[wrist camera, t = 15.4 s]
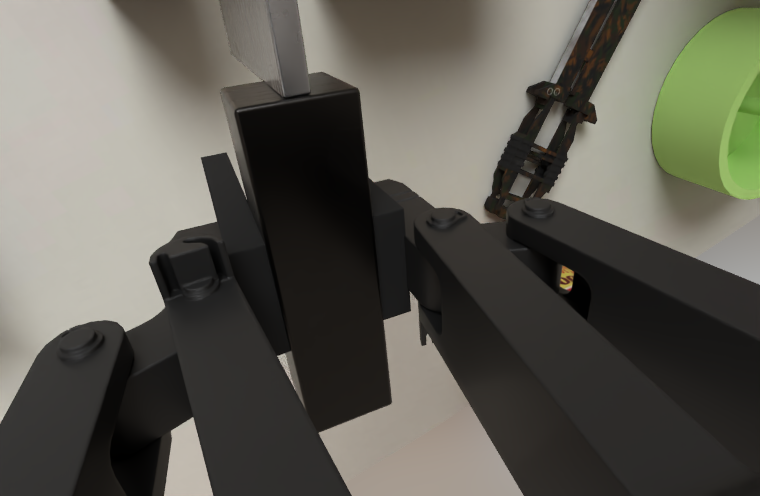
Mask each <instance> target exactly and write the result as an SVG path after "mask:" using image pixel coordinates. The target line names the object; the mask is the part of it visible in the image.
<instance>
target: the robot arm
mask: <svg viewBox="0 0 760 496" xmlns="http://www.w3.org/2000/svg"><path fill="white" fill-rule="evenodd" d="M201 160H202V164H203V168H204V171H205V175H206V179H207V183H208V187H209V191H210V195H211V198H212V202H213V206H214V210H215V214H216V218H217V222H214V223H210V224H206V225H202V226H198V227H194V228H190V229H185V230H181V231H178V232H177V233H176V234H175V236H174V237H173V238H172V240H171V241H170V242H169V243H167V244H165V245H164V246H162V247H160V248H159V249H157V250H156V251H155V252H154V253H153V254H152V255H151V257H150V261H149V265H150V267H151V270H152V272H153V275H154V277H155V280H156V282H157V285H158V287H159V290H160V292H161V295H162V298H163V300H164V303H165V308H164V309H163V310H162V311H161V312H160V313H159V314H158V315H156V316H155V317H154V318H152V319H151V320H149V321H147V322H145V323H143V324H142V325H140V326H137V327H135V328H133V329H131V330H129V331H127V332H125V331H124V329H123V327H122V326H120V325H119V324H118V323H117V322H112V321H107V320H104V321H95V322H89V323H86V324H83V325H78V326H75V327H73V328H70V330H66V331H65V332H63V333H61V334H60V335H58V336H57V337H56V338H54V339H53V340H52V341H50V342H49V343H48V344H46V345H45V347H44V348H43V349H42V350H41V351H40V353H39V354H38V355H37V357H36V359H35V361H34V362H33V364H32V366H31V368H30V370H29V372H28V374H27V375H26V377H25V379H24V381H23V383H22V385H21V387H20V388H19V390H18V392H17V394H16V396H15V398H14V400H13V401H12V403H11V405H10V407H9V409H8V411H7V413H6V414H5V416H4V418H3V420H2V422H1V424H0V496H164V491H165V484H166V477H167V470H168V463H169V455H170V448H171V441H172V437H171V430H173V429H174V428H176V427H178V426H179V425H181V424H182V423H184V422H186V421H187V420H189V419H190V418H192V417H194V421H195V425H196V429H197V433H198V437H199V441H200V445H201V449H202V453H203V457H204V460H205V464H206V468H207V472H208V476H209V480H210V484H211V488H212V492H213V496H352V495H351V494H350V492H349V490H348V488H347V486H346V484H345V482H344V481H343V479H342V477H341V475H340V473H339V471H338V469H337V467H336V466H335V464H334V462H333V460H332V458H331V456H330V454H329V453H328V451H327V449H326V447H325V445H324V443H323V441H322V439H321V438H320V436H319V434H318V432H317V430H316V428H315V426H314V424H313V423H312V421H311V419H310V417H309V415H308V413H307V411H306V410H305V408H304V406H303V404H302V402H301V400H300V398H299V396H298V395H297V393H296V391H295V389H294V387H293V385H292V383H291V382H290V380H289V378H288V376H287V374H286V372H285V370H284V368H283V367H282V365H281V363H280V361H279V359H278V357H277V356H278V355H281V354H284V353H287V352H290V351H291V350H290V346H289V342H288V337H287V333H286V329H285V325H284V321H283V317H282V313H281V308H280V304H279V300H278V296H277V292H276V288H275V284H274V279H273V275H272V271H271V267H270V263H269V259H268V255H267V251H266V246H265V243H264V241H263V239H262V236H261V234H260V232H259V229H258V227H257V225H256V222H255V220H254V218H253V215H252V213H251V211H250V208H249V205H248V201H247V199H246V197H245V194H244V192H243V190H242V188H241V185H240V183H239V181H238V178H237V176H236V174H235V171H234V169H233V167H232V164H231V162H230V160H229V157H228V155H227V153H221V154H216V155H211V156H206V157H201ZM369 187H370V197H371V206H372V216H373V225H374V235H375V245H376V254H377V264H378V273H379V283H380V292H381V302H382V312H383V320H385V319H388V318H391V317H394V316H397V315H400V314H403V313H406V312H409V311H411V306H410V292H411V293H412V294H413V295H414V297H415V298H416V299H417V300H418V309H419V326H420V340H421V345H422V346H424V345H426V335H427V334H429V336H430V338H431V339H432V343H434V345H435V346H436V348H437V350H438V351H439V353H440V355H441V356H442V358H443V360H444V361H445V363H446V365H447V367H448V368H449V370H450V372H451V373H452V375H453V377H454V378H455V380H456V382H457V383H458V385H459V387H460V389H461V390H462V392H463V394H464V395H465V397H466V399H467V400H468V402H469V404H470V405H471V407H472V409H473V410H474V412H475V414H476V416H477V417H478V419H479V421H480V422H481V424H482V426H483V427H484V429H485V431H486V432H487V434H488V436H489V438H490V439H491V441H492V443H493V444H494V446H495V447H496V449H497V451H498V453H499V454H500V456H501V458H502V459H503V461H504V463H505V465H506V466H507V468H508V470H509V471H510V473H511V475H512V476H513V478H514V480H515V481H516V483H517V485H518V487H519V488H520V490H521V492H522V493H523V495H524V496H760V285H759V284H756V283H754V282H751V281H749V280H747V279H744V278H742V277H739V276H737V275H734V274H732V273H730V272H727V271H725V270H722V269H720V268H717V267H715V266H712V265H710V264H707V263H705V262H703V261H700V260H698V259H695V258H693V257H691V256H688V255H686V254H683V253H681V252H678V251H676V250H673V249H671V248H669V247H666V246H664V245H661V244H659V243H656V242H654V241H651V240H649V239H647V238H644V237H642V236H639V235H637V234H634V233H632V232H630V231H627V230H625V229H622V228H620V227H617V226H615V225H612V224H610V223H608V222H605V221H603V220H600V219H598V218H595V217H593V216H591V215H588V214H586V213H583V212H581V211H578V210H576V209H573V208H571V207H569V206H566V205H564V204H561V203H559V202H555V201H552V200H549V199H541V198H539V197H532V198H525V199H523V200H518V201H515V202H513V203H512V204H510V205H509V206H508V208H507V212H506V221H505V222H495V223H485V224H480V223H479V222H478V221H477V220H476V219H475V218H473V217H472V216H471V215H470V214H468V213H467V212H465V211H463V210H460V209H455V208H434V207H433V206H432V205H430V204H429V203H428V202H427V201H425V200H424V199H423V198H421V197H419V195H417V194H416V193H415V192H412V190H411V189H410V188H408V187H407V186H406V185H404V184H403V183H400V182H397V181H393V180H390V179H387V180H383V181H379V182H375V183H374V182H373V181H372V180H371V179H369ZM562 266H565V267H566V268H568V269H570V270H572V271H574V276H573V283H572V288H571V291H569V290H566V289H564V288H562V287H560V281H561V273H562Z"/></svg>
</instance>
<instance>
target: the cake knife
mask: <svg viewBox="0 0 760 496" xmlns="http://www.w3.org/2000/svg"><path fill="white" fill-rule="evenodd" d="M219 4H220V8H221V13H222V17H223V21H224V26H225V30H226V34H227V39H228V43H229V48H230V52H231V55H232V56H233V57H235V58H236V59H237V60H238V61H239V62H241V63H242V64H243V65H244V66H246V67H247V68H248V69H249V70H250V71H252V72H253V73H254V74H255V75H256V76H258V77H259V78H260V79H261V80H263V81H262V82H256V83H249V84H243V85H237V86H231V87H224V88H222V89H221V92H220V93H221V97H222V101H223V105H224V109H225V113H226V117H227V121H228V125H229V129H230V133H231V137H232V141H233V145H234V149H235V153H236V157H237V161H238V165H239V169H240V173H241V177H242V181H243V185H244V189H245V193H246V197H247V201H248V205H249V208H250V211H251V213H252V215H253V218H254V220H255V222H256V225H257V227H258V229H259V232H260V234H261V236H262V239H263V241H264V243H265V246H266V251H267V255H268V259H269V263H270V267H271V271H272V275H273V279H274V284H275V288H276V292H277V296H278V300H279V304H280V308H281V313H282V317H283V321H284V325H285V329H286V333H287V337H288V342H289V346H290V350H291V351H290V352H287V353H286V357H287V361H288V365H289V369H290V373H291V377H292V380H293V383H294V386H295V389H296V392H297V395H298V396H299V398H300V400H301V402H302V404H303V406H304V408H305V410H306V411H307V413H308V415H309V417H310V419H311V421H312V423H313V424H314V426H315V428H316V430H317V432H318V433H319V432H322V431H324V430H327V429H329V428H332V427H334V426H337V425H339V424H342V423H344V422H347V421H349V420H352V419H355V418H357V417H360V416H362V415H365V414H367V413H370V412H372V411H375V410H377V409H380V408H383V407H385V406H388V405H390V404H391V403H392V398H391V388H390V379H389V369H388V359H387V350H386V340H385V331H384V321H383V312H382V302H381V292H380V283H379V273H378V264H377V254H376V245H375V235H374V225H373V216H372V206H371V197H370V187H369V178H368V168H367V159H366V149H365V139H364V130H363V120H362V111H361V101H360V92H359V90H358V88H356V87H354V86H352V85H350V84H348V83H346V82H343V81H341V80H339V79H337V78H335V77H333V76H331V75H328V74H326V73H324V72H318V73H312V74H308V68H307V62H306V55H305V49H304V42H303V36H302V30H301V23H300V17H299V10H298V4H297V0H219Z"/></svg>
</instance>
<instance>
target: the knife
mask: <svg viewBox="0 0 760 496" xmlns="http://www.w3.org/2000/svg"><path fill="white" fill-rule="evenodd" d="M614 1H615V0H590V2H589V4H588V6H587V8H586V10H585V12H584V14H583V16H582V18H581V20H580V22H579V24H578V26H577V28H576V30H575V32H574V34H573V36H572V38H571V40H570V42H569V44H568V46H567V48H566V51H565V53H564V55H563V57H562V59H561V61H560V63H559V65H558V67H557V69H556V71H555V73H554V75H553V77H552V79H551V81H550V82H546V81H542V82H540V83H537V84H535V85H532V86H530V87H528V89H527V91H526V92H528V93H530V94H532V95H534V96H536V97H538V99H537V101H536V104H535V106H534V108H533V109H532V110H531V111H530V112H529V113H528V114H527V115H526V116H525V117H524V119H523V121H522V123H521V125H520V127H519V129H518V131H517V132H516V133H515V134H512V135H511V137H510V138H511V140H510V141H508V143H507V144H508V146H507V148H506V147H505V149H504V151H505V152H504V154H502V156H501V160H500V161H499V162H498V166H497V169H496V171H495V173H494V182H493V186H492V190H493V192H492V194H491V196H488V198H487V200H486V202H485V204H484V205H485V209H486V210H487V211H489V212H490V213H493V214H495V215H497V216H498V217H501V218H503V219H506V212H507V208H508V207H505V206H502V205H503V203H504V201H505V199H508V200H511V201H514V202H515V201H518V200H523V199H525V198H529V197H530V196H531V195H532V193H533V192H534V191H535V190H536V189H537V188H538V189H537V191H536V193H535V194H534V196H533V197H539V198H541V197H542V196H543V195H544V194H545V193H546V192H547V193H549V191H550V190H551V188H552V186H554V184H555V183H554V182H555V180H557V179H558V177H557V176H558V174H560V173H561V169H562V168H563V167H564V166H565V165H564V163H565V161H566V162H567V160H568V158H567V152H568V150H569V148H570V146H571V144H572V143H573V141H574V136H575V131H576V126H577V124H578V123H581V124H582V122H583V121H586V122H587V121H588V122H590V123H593V124H595V123H596V121H597V117H596V111H595V106H594V104H592V103H590V102H588V101H589V99H590V97H591V95H592V93H593V91H594V89H595V87H596V86H597V84H598V82H599V80H600V78H601V76H602V74H603V72H604V70H605V68H606V66H607V64H608V63H609V61H610V59H611V57H612V55H613V53H614V51H615V49H616V47H617V45H618V43H619V42H620V40H621V38H622V36H623V34H624V32H625V30H626V28H627V26H628V24H629V22H630V21H631V19H632V17H633V15H634V13H635V11H636V9H637V7H638V5H639V3H640V1H641V0H617V2H616V4H615V6H614V8H613V10H612V12H611V14H610V16H609V18H608V20H607V22H606V24H605V26H604V28H603V30H602V32H601V34H600V36H599V38H598V40H597V42H596V44H595V46H594V48H593V50H591V49H590V48H591V46H592V44H593V42H594V40H595V38H596V36H597V34H598V32H599V30H600V28H601V26H602V24H603V22H604V20H605V18H606V16H607V14H608V12H609V10H610V8H611V7H612V5H613V3H614ZM584 61H586V63H585V65H584V67H583V69H582V71H581V73H580V75H579V77H578V79H577V81H576V83H575V85H574V87H573V89H572V91H570V90H571V88H570V87H571V85H572V83H573V81H574V80H575V78H576V76H577V74H578V72H579V70H580V68H581V66H582V64H583V62H584ZM569 92H570V93H569ZM568 94H569V95H568ZM567 96H568V97H567ZM566 98H567V99H566ZM565 100H566V101H565ZM554 101H558V102H561V103H564V102H565V103H564V105H565V106H566V107H568V108H569V109H567V111H566V113H565V115H564V117H563V119H562V121H561V123H560V125H559V127H558V129H557V131H556V133H555V135H554V137H553V139H552V140H551V142H550V144H549V146H548V148H547V149H545V148H543V147H541V146H539V145H537V144H535V143H534V141H535V139H536V137H537V135H538V133H539V131H540V129H541V127H542V125H543V123H544V121H545V119H546V117H547V115H548V113H549V111H550V109H551V107H552V105H553V103H554ZM539 109H542V110H543V111H542V112H541V113H540V114H539V115H538V116H537V117H536V115H537V113H538V111H539ZM570 109H571V110H570ZM535 117H536V118H535ZM534 119H535V120H534ZM567 122H568V123H571V125H570V127H569V129H568V131H567V133H566V135H565V129H566V124H567ZM564 135H565V137H564ZM563 138H564V139H563ZM562 140H563V141H562ZM561 142H562V143H561ZM531 147H534V148H536V149H538V150H540V151H542V152H545V154H544V156H543V155H541V154H538V153H536V152H534V151H531V150H530V149H531ZM528 153H529V154H532V155H534V156H536V157H539V158H541V159H542V160H541V162H539V161H537V160H534V159H532V158H529V157H527V155H528ZM525 160H527V161H529V162H532V163H534V164H537V165H539V166H538V168H536V169H535V171H536V172H535V174H532V173H529V172H527V171H524V170H522V169H521V167H523V166H524V161H525ZM518 173H520V174H522V175H525V176H527V177H530V178H532V179H531V181H530V183H529V185H528V187H527V189H526V191H525V193H524V195H523V197H519V196H516V195H513V194H511V193H509V191H510V189H511V187H512V185H513V183H514V181H515V179H516V177H517V175H518ZM500 188H501V190H500ZM497 194H500V196H501V197H500V199H496V196H497Z"/></svg>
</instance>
